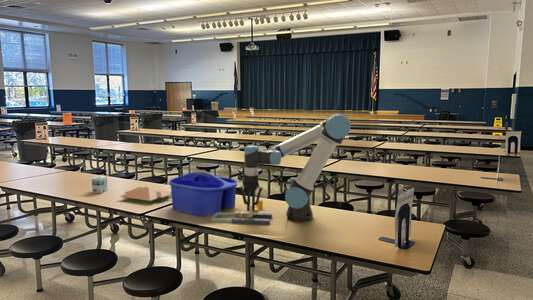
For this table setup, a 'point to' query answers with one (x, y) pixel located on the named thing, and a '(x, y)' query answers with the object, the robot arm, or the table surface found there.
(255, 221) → the slot rail
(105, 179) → the light bulb box
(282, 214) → the table surface
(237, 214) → the chip
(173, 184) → the caddy
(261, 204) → the pipe clamp
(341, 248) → the table surface
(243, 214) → the chip
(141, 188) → the house
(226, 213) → the tray
